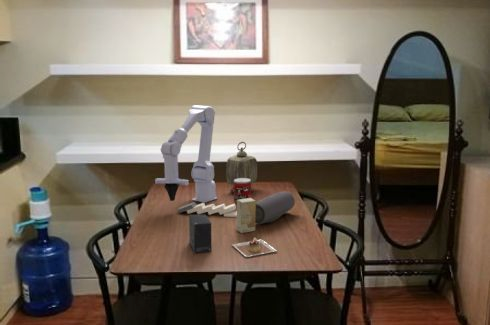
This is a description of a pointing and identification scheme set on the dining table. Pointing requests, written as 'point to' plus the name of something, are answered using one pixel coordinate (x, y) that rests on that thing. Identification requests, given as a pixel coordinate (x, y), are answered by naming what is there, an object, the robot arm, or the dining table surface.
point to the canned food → (242, 189)
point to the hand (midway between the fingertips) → (172, 200)
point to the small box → (200, 233)
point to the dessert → (254, 246)
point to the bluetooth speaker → (273, 207)
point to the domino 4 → (217, 209)
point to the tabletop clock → (241, 167)
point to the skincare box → (246, 215)
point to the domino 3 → (206, 208)
